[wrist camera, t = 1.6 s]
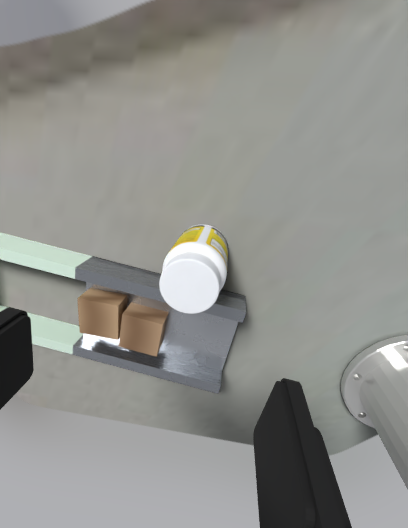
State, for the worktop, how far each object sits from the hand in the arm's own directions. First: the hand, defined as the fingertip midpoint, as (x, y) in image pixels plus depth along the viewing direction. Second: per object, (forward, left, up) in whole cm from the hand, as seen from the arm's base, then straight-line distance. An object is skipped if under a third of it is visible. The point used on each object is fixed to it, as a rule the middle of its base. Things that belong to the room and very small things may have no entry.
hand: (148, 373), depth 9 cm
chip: (+8, +9, -15) cm, 19 cm away
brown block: (+4, +9, -15) cm, 18 cm away
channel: (+3, +9, -16) cm, 18 cm away
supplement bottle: (0, 0, -16) cm, 16 cm away
